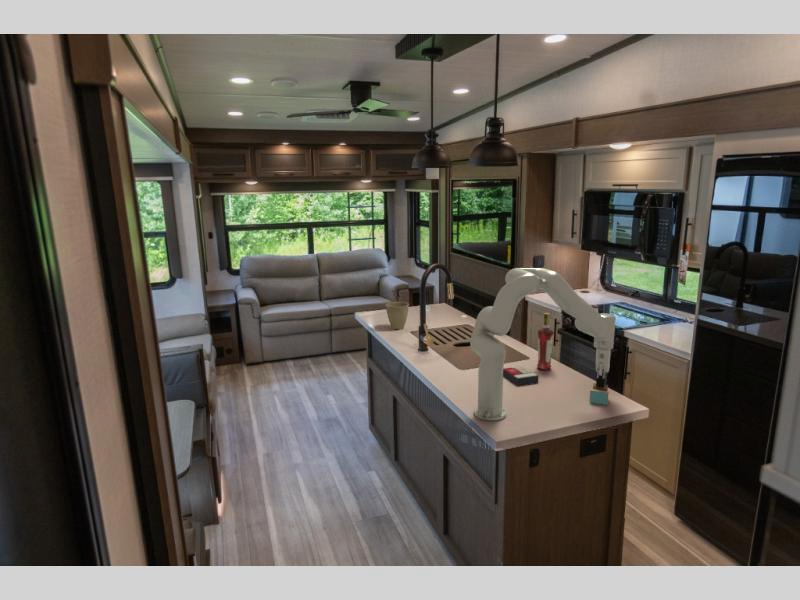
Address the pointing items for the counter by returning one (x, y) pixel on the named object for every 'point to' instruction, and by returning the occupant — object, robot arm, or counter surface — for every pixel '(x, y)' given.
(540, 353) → the liquor
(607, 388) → the tan stepped block
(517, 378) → the calculator
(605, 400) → the tile
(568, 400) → the counter surface
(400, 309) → the plant pot
